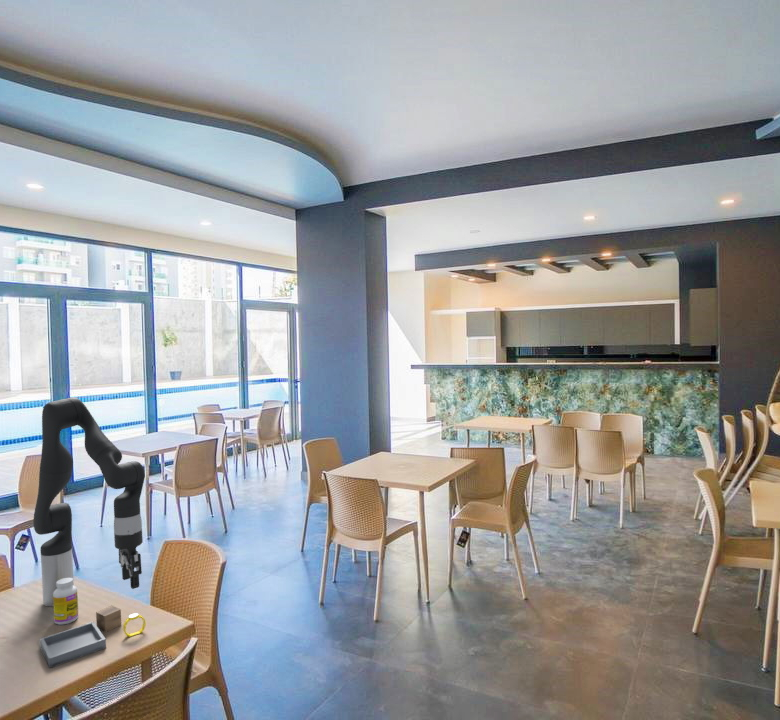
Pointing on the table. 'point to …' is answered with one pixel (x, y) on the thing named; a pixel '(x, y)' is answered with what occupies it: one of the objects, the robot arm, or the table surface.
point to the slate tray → (72, 644)
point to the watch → (132, 617)
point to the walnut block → (108, 618)
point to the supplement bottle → (65, 602)
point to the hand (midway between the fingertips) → (130, 583)
